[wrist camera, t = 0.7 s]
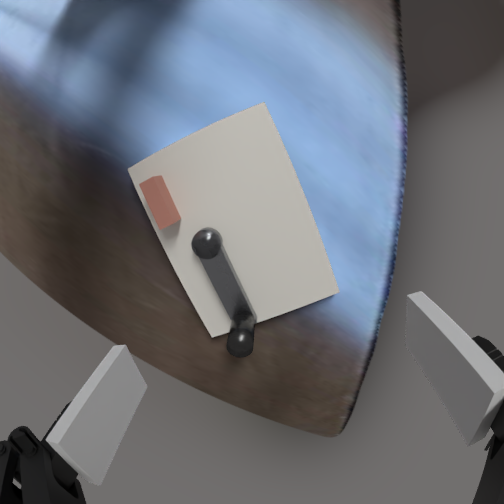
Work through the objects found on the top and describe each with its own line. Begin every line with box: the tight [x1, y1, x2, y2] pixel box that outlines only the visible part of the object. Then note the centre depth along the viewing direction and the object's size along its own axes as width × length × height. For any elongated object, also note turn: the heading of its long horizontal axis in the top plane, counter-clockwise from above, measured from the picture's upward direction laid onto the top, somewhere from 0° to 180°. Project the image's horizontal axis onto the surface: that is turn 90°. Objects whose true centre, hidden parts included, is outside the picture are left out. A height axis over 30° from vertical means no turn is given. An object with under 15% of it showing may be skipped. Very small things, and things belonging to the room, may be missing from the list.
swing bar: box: [191, 227, 257, 357], centre depth 33 cm, size 14×4×8 cm, turn 23°
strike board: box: [128, 102, 339, 337], centre depth 34 cm, size 26×19×5 cm
